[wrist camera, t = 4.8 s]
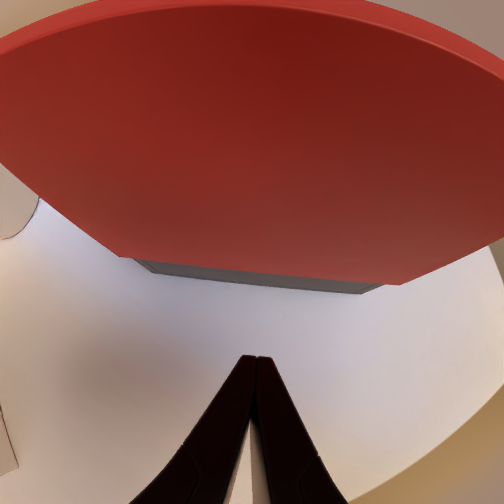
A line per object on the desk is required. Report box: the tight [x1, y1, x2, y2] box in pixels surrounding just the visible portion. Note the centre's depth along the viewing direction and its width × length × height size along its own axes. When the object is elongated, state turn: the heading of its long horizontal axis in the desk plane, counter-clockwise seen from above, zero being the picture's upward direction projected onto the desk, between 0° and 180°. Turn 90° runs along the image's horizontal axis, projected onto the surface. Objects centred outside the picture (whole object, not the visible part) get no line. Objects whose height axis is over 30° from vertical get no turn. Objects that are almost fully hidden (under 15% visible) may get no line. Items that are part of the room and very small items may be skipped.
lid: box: [0, 0, 504, 285], centre depth 9 cm, size 13×15×1 cm
